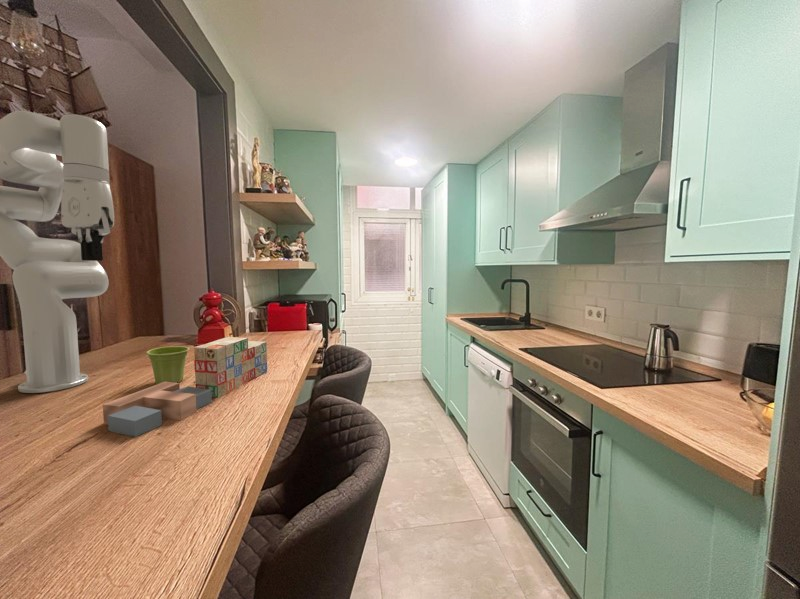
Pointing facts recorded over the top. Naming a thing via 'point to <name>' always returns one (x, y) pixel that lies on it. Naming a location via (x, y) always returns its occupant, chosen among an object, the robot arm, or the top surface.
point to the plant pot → (168, 363)
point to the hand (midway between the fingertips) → (92, 260)
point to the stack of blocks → (228, 364)
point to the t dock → (149, 414)
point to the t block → (156, 401)
